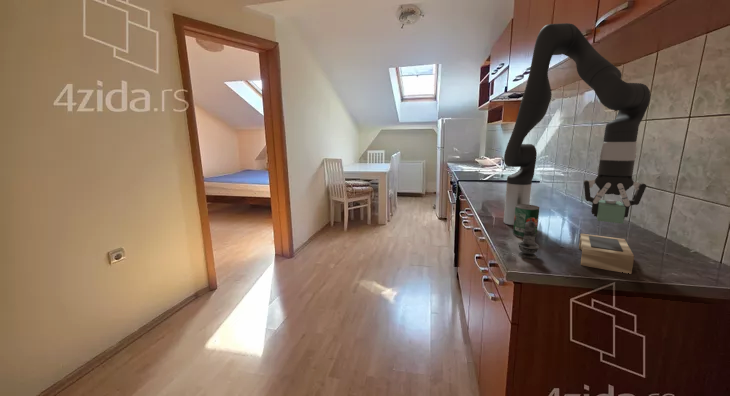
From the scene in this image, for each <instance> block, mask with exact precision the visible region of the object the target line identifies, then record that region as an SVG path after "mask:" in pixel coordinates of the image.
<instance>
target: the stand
mask: <svg viewBox="0 0 730 396" xmlns="http://www.w3.org/2000/svg"><path fill="white" fill-rule="evenodd" d="M578 250H581V258H580V266H584V267H590V268H595V269H601V270H606V271H610V272H611V271H612V272H618V273H622V272H623V274H628V273H629V274H630V275H632V273H633V266H634V262H635V261H634V260H635V255H634V253H633V252H632V250H631V248H630V246H629V245H628V243H627V241H626V239H625V238H619V237H612V236H611V237H610V236H603V235H596V234H590V233H589V234H587V233H580V235H579V244H578ZM629 274H628V275H629Z"/></svg>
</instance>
